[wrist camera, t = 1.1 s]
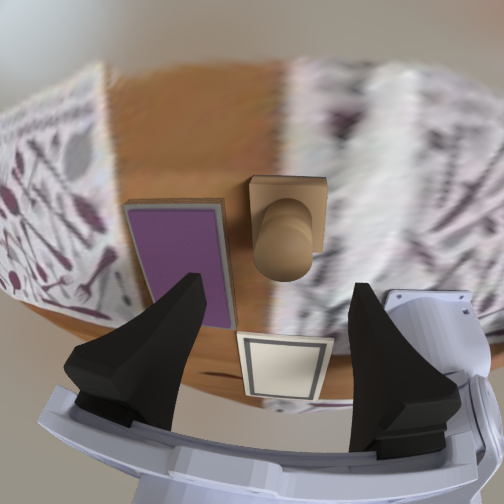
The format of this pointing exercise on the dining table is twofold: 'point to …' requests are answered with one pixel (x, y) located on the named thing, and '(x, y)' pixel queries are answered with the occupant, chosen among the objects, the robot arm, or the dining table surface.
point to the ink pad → (185, 250)
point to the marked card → (283, 365)
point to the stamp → (287, 223)
